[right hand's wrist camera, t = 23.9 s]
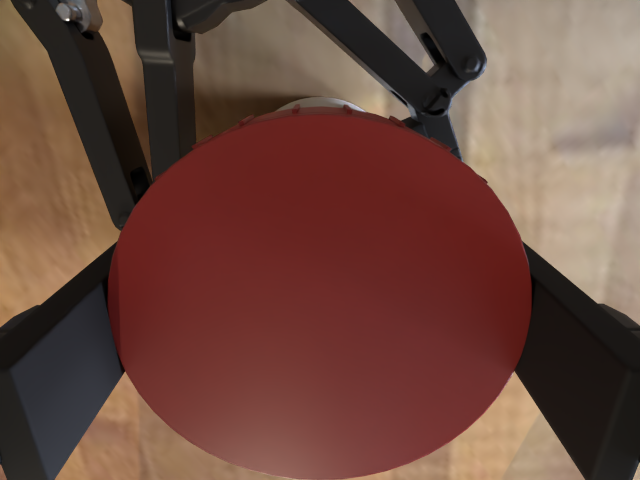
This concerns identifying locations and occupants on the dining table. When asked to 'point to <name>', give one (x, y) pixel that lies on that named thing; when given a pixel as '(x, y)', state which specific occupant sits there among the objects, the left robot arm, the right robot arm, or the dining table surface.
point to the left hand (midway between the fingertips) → (356, 289)
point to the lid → (319, 294)
